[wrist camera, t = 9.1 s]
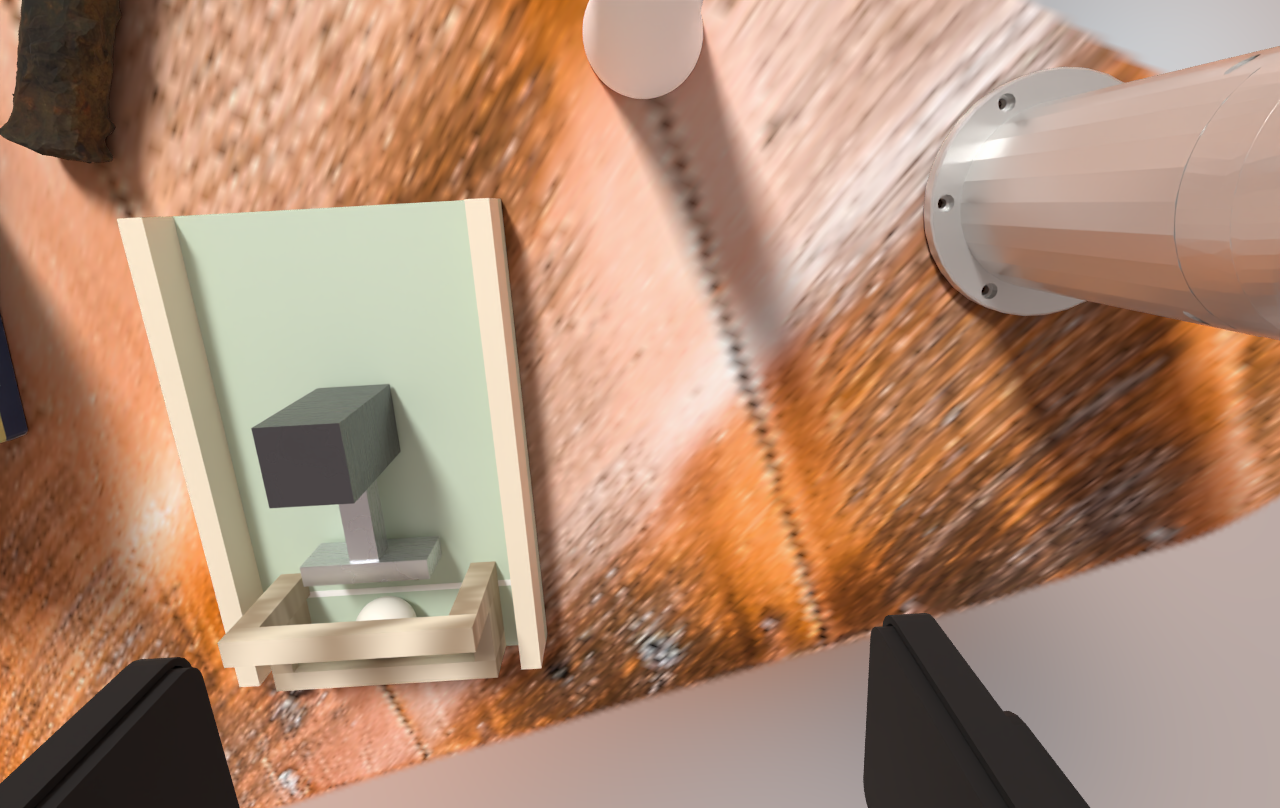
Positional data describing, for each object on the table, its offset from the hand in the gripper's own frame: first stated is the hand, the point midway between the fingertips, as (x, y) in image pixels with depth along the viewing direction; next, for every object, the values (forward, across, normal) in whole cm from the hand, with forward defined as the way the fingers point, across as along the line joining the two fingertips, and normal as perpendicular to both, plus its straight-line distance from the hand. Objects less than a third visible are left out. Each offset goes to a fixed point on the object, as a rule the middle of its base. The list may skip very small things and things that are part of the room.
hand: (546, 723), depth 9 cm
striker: (+29, +14, +7) cm, 33 cm away
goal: (+29, +14, +16) cm, 36 cm away
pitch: (+30, +14, +6) cm, 34 cm away
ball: (+27, +14, +16) cm, 35 cm away
